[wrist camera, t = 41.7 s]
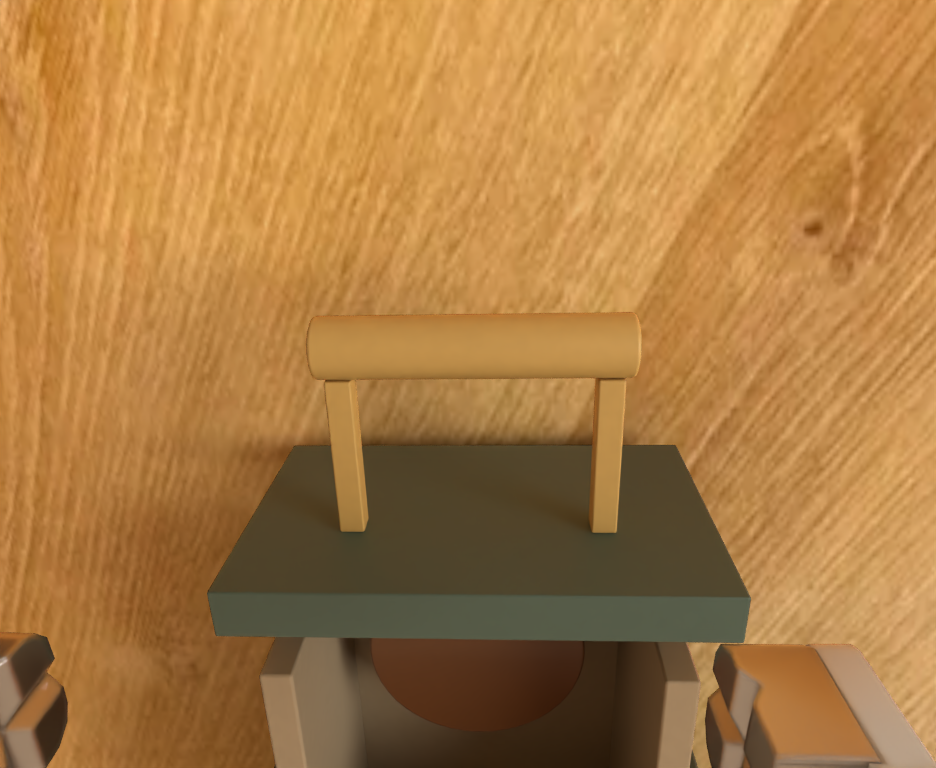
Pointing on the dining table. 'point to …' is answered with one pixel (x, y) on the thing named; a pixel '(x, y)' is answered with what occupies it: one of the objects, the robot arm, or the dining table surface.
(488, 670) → the cookie
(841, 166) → the dining table surface
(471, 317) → the drawer
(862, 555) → the dining table surface
